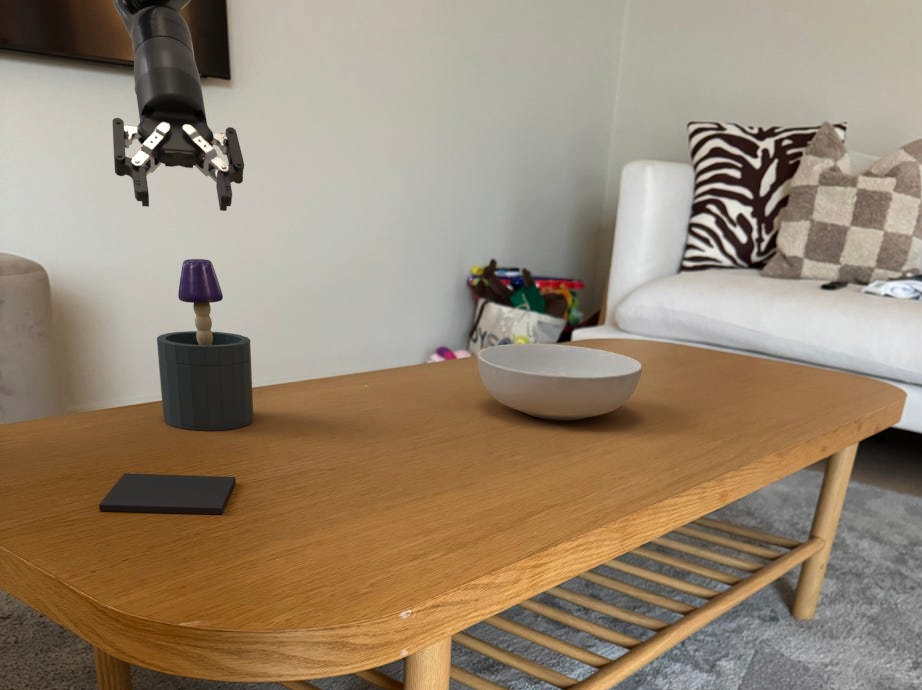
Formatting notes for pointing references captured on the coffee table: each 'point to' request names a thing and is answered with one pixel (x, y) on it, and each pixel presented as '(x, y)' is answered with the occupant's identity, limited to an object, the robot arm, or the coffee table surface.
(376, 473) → the coffee table surface
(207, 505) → the mat
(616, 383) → the serving bowl
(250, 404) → the jar
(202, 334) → the toy lamp
